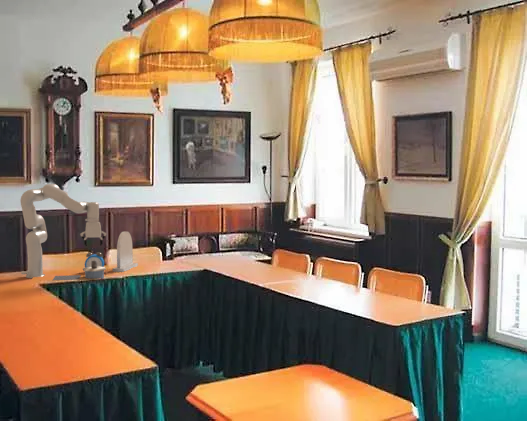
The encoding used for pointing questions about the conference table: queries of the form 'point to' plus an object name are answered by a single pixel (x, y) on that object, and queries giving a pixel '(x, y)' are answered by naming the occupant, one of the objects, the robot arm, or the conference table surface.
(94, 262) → the lid
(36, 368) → the conference table surface
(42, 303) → the conference table surface
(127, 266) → the award
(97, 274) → the gray square block
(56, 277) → the mat
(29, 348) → the conference table surface
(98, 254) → the alarm clock
